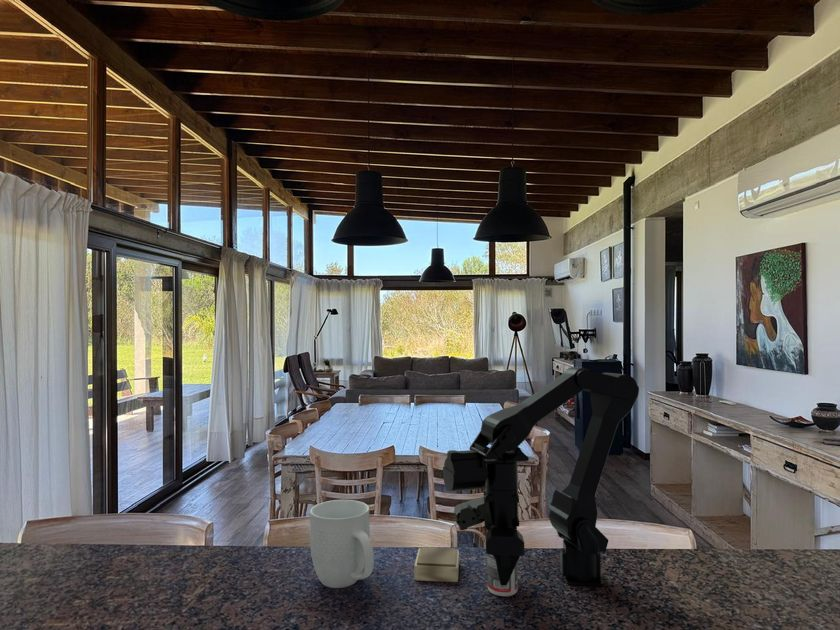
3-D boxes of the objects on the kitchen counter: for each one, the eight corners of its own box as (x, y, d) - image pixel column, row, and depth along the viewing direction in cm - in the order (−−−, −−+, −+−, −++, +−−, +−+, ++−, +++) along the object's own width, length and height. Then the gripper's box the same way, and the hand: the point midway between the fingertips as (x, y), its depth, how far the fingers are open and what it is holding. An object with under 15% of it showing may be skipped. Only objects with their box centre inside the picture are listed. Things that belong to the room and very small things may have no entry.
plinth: (458, 563, 102) (458, 547, 102) (457, 582, 94) (457, 565, 94) (418, 561, 102) (418, 546, 103) (414, 580, 95) (414, 563, 95)
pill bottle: (501, 579, 95) (500, 526, 95) (524, 590, 91) (523, 534, 91) (480, 588, 91) (480, 533, 92) (503, 600, 87) (503, 542, 88)
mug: (395, 587, 92) (395, 513, 92) (344, 610, 84) (345, 529, 85) (346, 561, 102) (346, 495, 103) (297, 579, 95) (298, 508, 95)
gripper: (458, 471, 102) (458, 551, 101) (454, 501, 83) (455, 599, 83) (514, 473, 101) (515, 554, 100) (524, 503, 82) (525, 603, 81)
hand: (502, 575), depth 91 cm, fingers open, 7 cm apart
